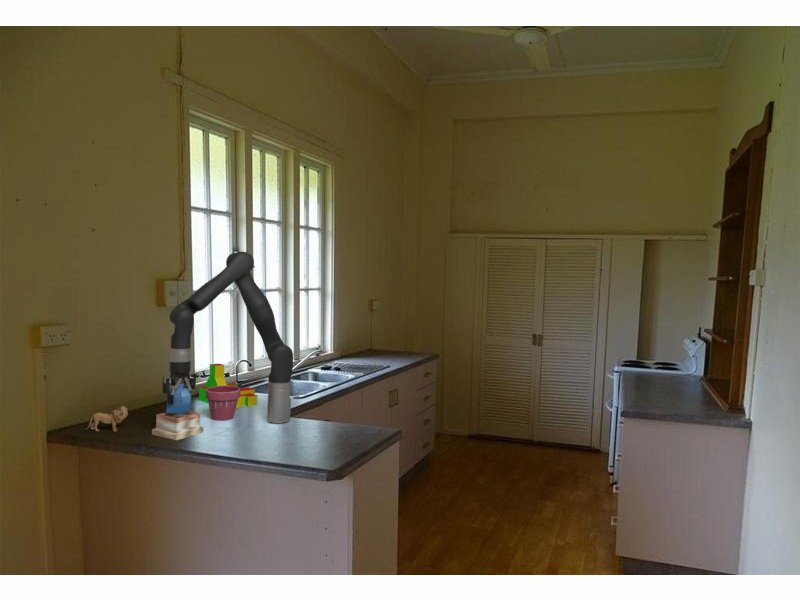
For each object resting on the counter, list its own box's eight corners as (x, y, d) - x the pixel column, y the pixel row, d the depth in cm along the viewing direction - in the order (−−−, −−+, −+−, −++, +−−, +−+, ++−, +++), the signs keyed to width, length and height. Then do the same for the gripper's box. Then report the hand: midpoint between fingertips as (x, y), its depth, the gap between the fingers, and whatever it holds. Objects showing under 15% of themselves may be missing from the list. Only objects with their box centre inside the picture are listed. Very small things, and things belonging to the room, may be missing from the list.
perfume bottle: (181, 413, 205) (182, 382, 205) (166, 412, 207) (167, 380, 206) (190, 410, 212) (191, 379, 211) (176, 408, 213) (177, 378, 212)
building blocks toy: (225, 410, 247) (226, 370, 247) (198, 400, 264) (200, 363, 264) (261, 405, 261) (262, 367, 260) (234, 395, 278) (235, 360, 277)
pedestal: (179, 426, 218) (180, 408, 218) (203, 432, 212) (203, 413, 212) (151, 434, 207) (152, 414, 206) (176, 440, 201) (176, 420, 200)
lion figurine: (128, 427, 214) (128, 404, 214) (126, 431, 209) (127, 407, 209) (85, 429, 209) (86, 406, 209) (82, 433, 204) (83, 409, 204)
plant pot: (197, 419, 230) (198, 389, 230) (220, 412, 243) (221, 383, 243) (224, 424, 225) (225, 393, 224) (246, 416, 238) (247, 387, 237)
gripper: (171, 363, 200) (170, 407, 201) (202, 358, 213) (200, 400, 214) (157, 360, 204) (156, 404, 204) (188, 356, 216) (187, 397, 217)
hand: (179, 402), depth 209 cm, fingers closed on perfume bottle, 7 cm apart
